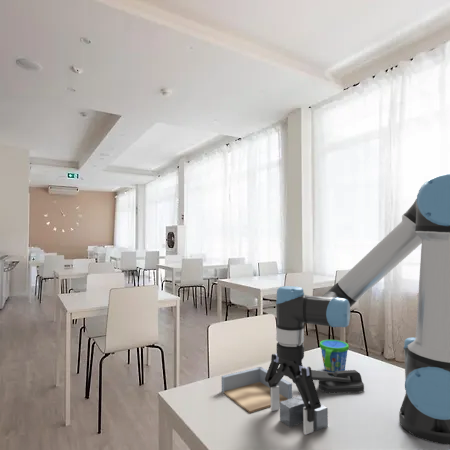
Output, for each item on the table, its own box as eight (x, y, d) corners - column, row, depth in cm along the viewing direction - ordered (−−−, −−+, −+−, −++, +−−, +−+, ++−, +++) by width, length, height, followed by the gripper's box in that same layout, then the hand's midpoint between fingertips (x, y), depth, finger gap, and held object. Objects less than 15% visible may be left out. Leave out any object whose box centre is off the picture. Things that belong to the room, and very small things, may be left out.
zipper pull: (285, 366, 116) (353, 362, 120) (286, 386, 116) (353, 381, 120) (294, 376, 108) (367, 371, 111) (295, 398, 107) (368, 392, 111)
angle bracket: (327, 426, 91) (327, 407, 91) (302, 436, 86) (302, 416, 86) (304, 412, 98) (303, 394, 99) (279, 420, 94) (279, 401, 94)
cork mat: (288, 401, 105) (288, 399, 105) (249, 413, 98) (249, 411, 98) (259, 383, 118) (259, 381, 118) (223, 393, 111) (223, 391, 111)
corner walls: (292, 399, 106) (291, 383, 106) (249, 413, 98) (249, 395, 98) (260, 381, 120) (260, 366, 120) (221, 391, 112) (221, 376, 112)
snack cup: (339, 380, 120) (338, 351, 121) (312, 373, 127) (311, 345, 128) (355, 368, 132) (355, 341, 132) (330, 361, 139) (329, 336, 139)
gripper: (334, 353, 85) (335, 439, 85) (272, 330, 107) (273, 398, 106) (312, 358, 82) (313, 448, 81) (253, 333, 103) (253, 404, 102)
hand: (290, 420), depth 94 cm, fingers open, 13 cm apart
